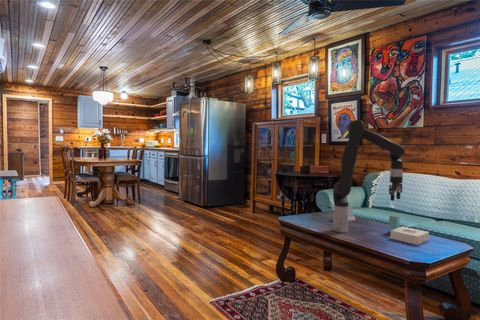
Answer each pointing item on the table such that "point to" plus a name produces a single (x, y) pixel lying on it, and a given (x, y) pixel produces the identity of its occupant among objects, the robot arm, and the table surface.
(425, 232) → the block
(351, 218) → the hinge
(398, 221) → the bracket
